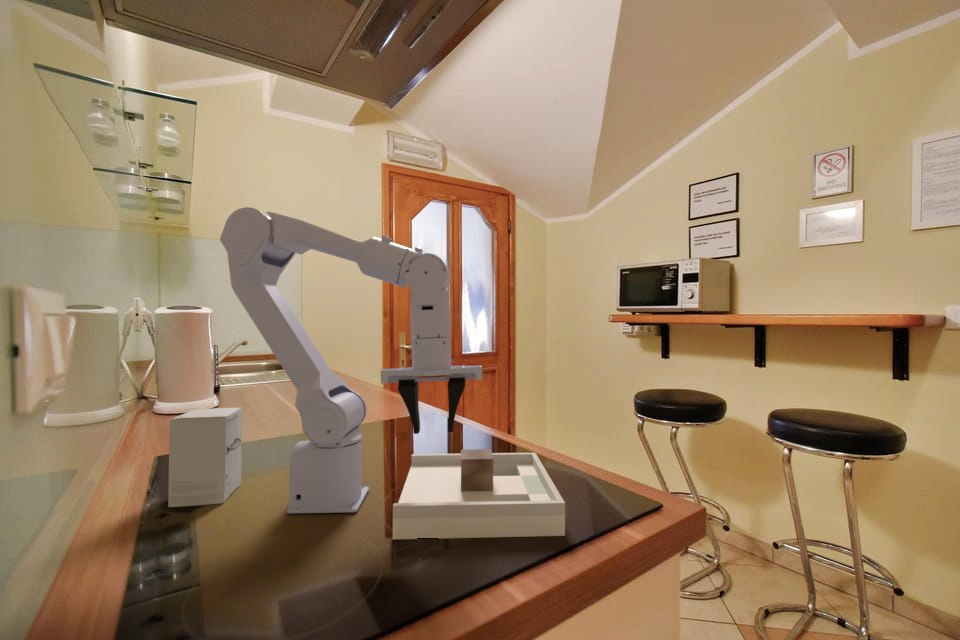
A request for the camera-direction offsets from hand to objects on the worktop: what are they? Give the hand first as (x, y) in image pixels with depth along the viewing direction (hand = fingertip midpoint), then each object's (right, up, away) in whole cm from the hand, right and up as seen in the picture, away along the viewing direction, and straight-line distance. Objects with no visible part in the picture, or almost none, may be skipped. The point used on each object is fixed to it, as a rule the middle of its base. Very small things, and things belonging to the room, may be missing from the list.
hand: (433, 431), depth 60 cm
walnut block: (+6, -8, 0) cm, 10 cm away
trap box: (+6, -10, 0) cm, 12 cm away
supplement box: (-34, -11, +2) cm, 36 cm away
